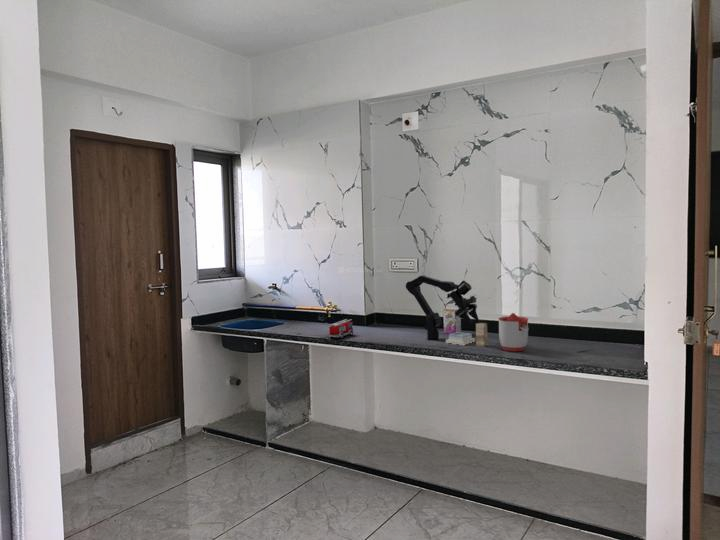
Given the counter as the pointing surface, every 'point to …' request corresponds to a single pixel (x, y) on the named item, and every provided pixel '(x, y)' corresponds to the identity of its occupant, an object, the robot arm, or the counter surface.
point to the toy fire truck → (341, 329)
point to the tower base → (460, 338)
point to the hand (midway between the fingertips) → (474, 321)
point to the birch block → (481, 334)
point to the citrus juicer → (513, 332)
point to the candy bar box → (451, 321)
